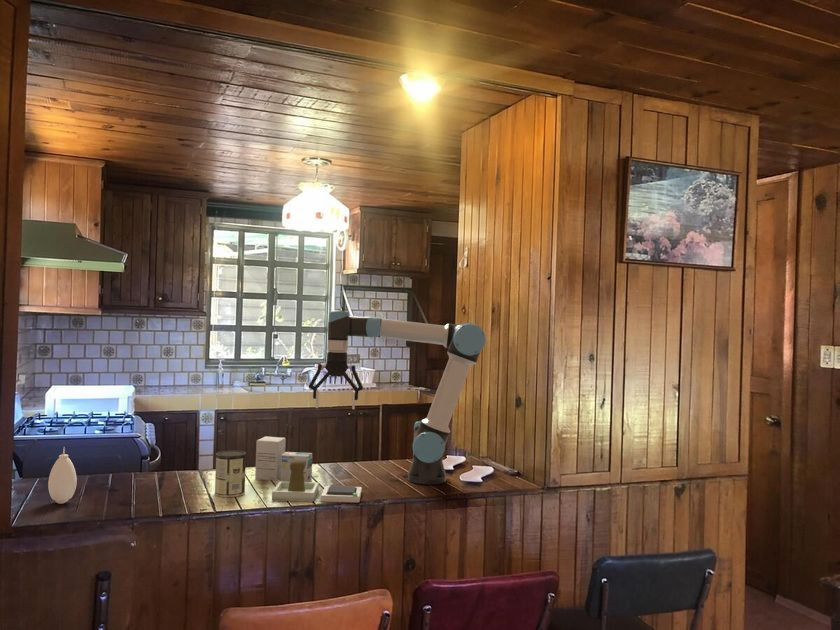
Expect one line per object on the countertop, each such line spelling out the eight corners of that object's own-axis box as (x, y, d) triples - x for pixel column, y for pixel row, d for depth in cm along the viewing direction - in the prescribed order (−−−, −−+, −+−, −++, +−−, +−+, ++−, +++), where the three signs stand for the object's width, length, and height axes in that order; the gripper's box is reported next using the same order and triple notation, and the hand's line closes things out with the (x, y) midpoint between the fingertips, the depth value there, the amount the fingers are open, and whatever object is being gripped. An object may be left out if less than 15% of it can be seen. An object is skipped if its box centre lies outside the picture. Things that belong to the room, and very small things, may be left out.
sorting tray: (318, 490, 236) (318, 482, 236) (313, 501, 222) (313, 492, 222) (279, 489, 236) (279, 481, 236) (271, 500, 222) (272, 491, 222)
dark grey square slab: (355, 490, 234) (355, 485, 234) (353, 497, 225) (354, 492, 225) (330, 489, 234) (330, 485, 234) (327, 496, 225) (327, 491, 225)
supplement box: (263, 473, 258) (264, 436, 259) (285, 475, 257) (286, 437, 257) (254, 479, 249) (255, 439, 250) (276, 480, 248) (278, 441, 248)
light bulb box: (312, 480, 250) (313, 452, 251) (307, 485, 244) (308, 456, 244) (284, 479, 252) (285, 451, 252) (279, 483, 245) (280, 454, 245)
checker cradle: (361, 492, 236) (361, 484, 236) (359, 502, 223) (359, 494, 223) (325, 491, 236) (325, 483, 236) (320, 501, 223) (321, 493, 223)
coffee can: (228, 488, 235) (229, 449, 235) (251, 492, 231) (252, 452, 231) (207, 494, 226) (209, 453, 226) (231, 499, 221) (232, 457, 221)
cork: (288, 490, 232) (289, 459, 232) (306, 490, 232) (307, 459, 232) (286, 494, 226) (287, 462, 226) (304, 495, 226) (305, 463, 226)
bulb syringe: (56, 507, 204) (58, 450, 204) (42, 503, 208) (45, 446, 209) (80, 502, 211) (82, 446, 211) (66, 498, 215) (69, 443, 215)
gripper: (371, 352, 250) (368, 408, 250) (305, 349, 249) (303, 405, 249) (370, 353, 242) (368, 410, 242) (302, 350, 242) (300, 408, 241)
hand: (335, 408), depth 245 cm, fingers open, 13 cm apart
